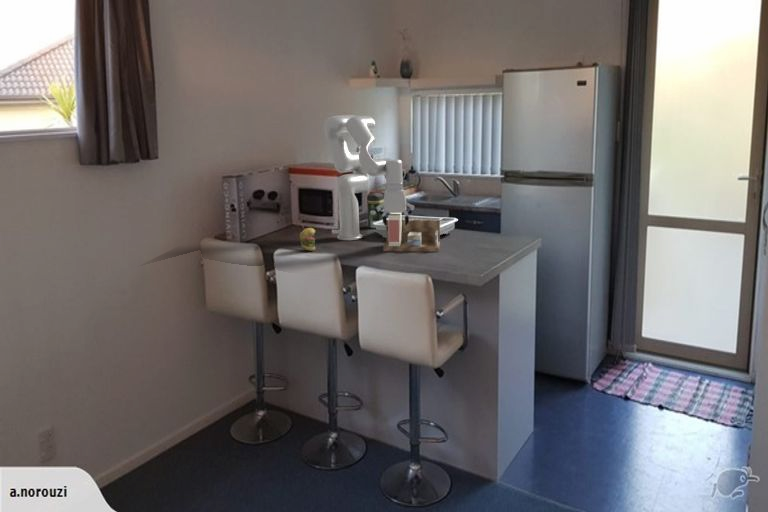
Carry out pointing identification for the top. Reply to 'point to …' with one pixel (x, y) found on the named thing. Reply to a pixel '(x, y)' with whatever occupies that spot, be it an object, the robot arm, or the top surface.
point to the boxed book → (395, 229)
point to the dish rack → (445, 222)
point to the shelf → (417, 227)
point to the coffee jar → (374, 208)
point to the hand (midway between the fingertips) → (395, 224)
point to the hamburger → (308, 239)
